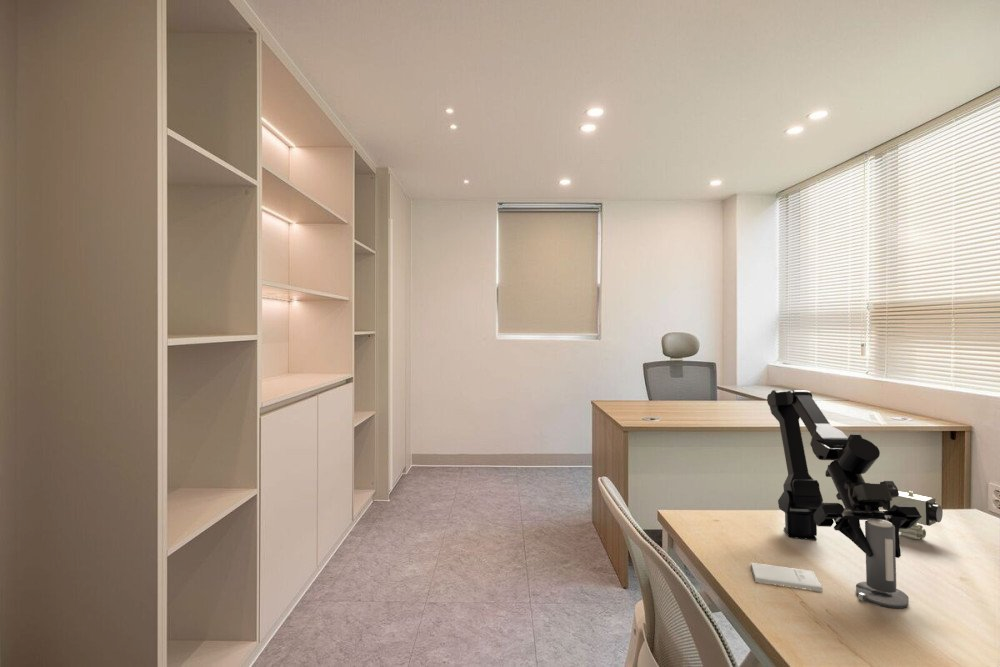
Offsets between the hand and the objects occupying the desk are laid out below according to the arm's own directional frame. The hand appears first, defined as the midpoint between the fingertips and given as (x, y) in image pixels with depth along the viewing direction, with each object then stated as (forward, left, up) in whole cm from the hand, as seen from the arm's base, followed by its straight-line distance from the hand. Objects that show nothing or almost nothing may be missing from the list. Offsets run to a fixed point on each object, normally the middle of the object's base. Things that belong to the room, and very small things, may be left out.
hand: (884, 556), depth 99 cm
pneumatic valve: (+20, +42, -9) cm, 47 cm away
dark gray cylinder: (0, +1, -7) cm, 7 cm away
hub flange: (0, +1, -9) cm, 9 cm away
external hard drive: (-17, +4, -9) cm, 20 cm away
